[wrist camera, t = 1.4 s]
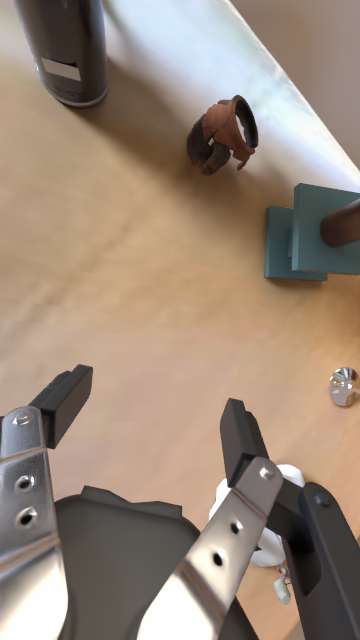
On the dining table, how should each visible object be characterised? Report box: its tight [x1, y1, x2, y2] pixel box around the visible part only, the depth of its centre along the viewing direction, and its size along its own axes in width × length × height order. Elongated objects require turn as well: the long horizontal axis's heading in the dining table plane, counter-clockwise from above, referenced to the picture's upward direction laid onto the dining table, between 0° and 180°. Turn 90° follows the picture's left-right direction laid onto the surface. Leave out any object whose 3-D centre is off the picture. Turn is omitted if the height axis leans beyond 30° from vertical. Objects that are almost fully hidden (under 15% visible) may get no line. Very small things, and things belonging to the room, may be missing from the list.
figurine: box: [209, 464, 305, 604], centre depth 33 cm, size 20×18×16 cm
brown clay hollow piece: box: [187, 95, 258, 176], centre depth 35 cm, size 12×10×8 cm
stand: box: [265, 183, 360, 281], centre depth 37 cm, size 12×12×8 cm
